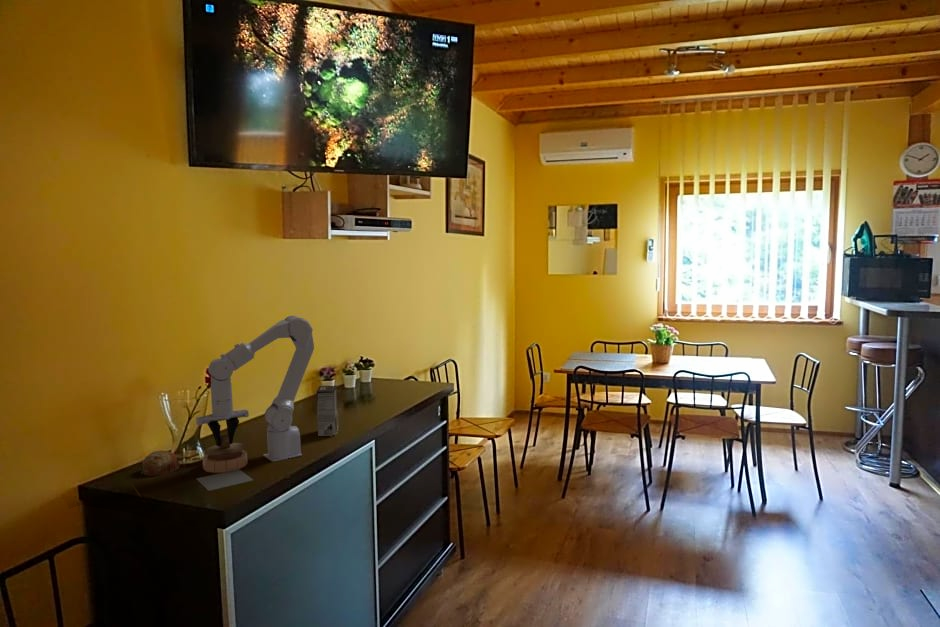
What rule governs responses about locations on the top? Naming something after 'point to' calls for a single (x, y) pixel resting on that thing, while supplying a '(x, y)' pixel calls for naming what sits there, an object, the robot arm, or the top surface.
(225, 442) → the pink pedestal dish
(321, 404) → the coffee box
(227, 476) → the mat
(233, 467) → the bowl
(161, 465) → the bread roll
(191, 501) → the top surface
